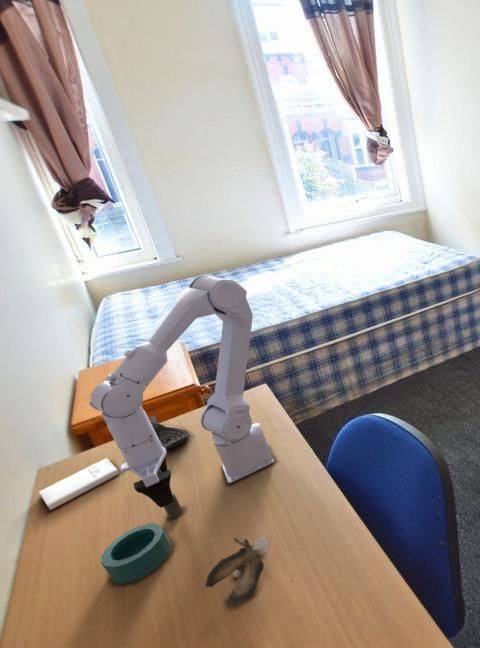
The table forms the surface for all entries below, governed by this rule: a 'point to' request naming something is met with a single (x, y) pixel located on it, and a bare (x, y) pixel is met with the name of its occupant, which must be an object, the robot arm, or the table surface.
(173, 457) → the table surface
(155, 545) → the teal hollow cylinder
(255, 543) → the eagle figurine
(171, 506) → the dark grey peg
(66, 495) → the hard drive
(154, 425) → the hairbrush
